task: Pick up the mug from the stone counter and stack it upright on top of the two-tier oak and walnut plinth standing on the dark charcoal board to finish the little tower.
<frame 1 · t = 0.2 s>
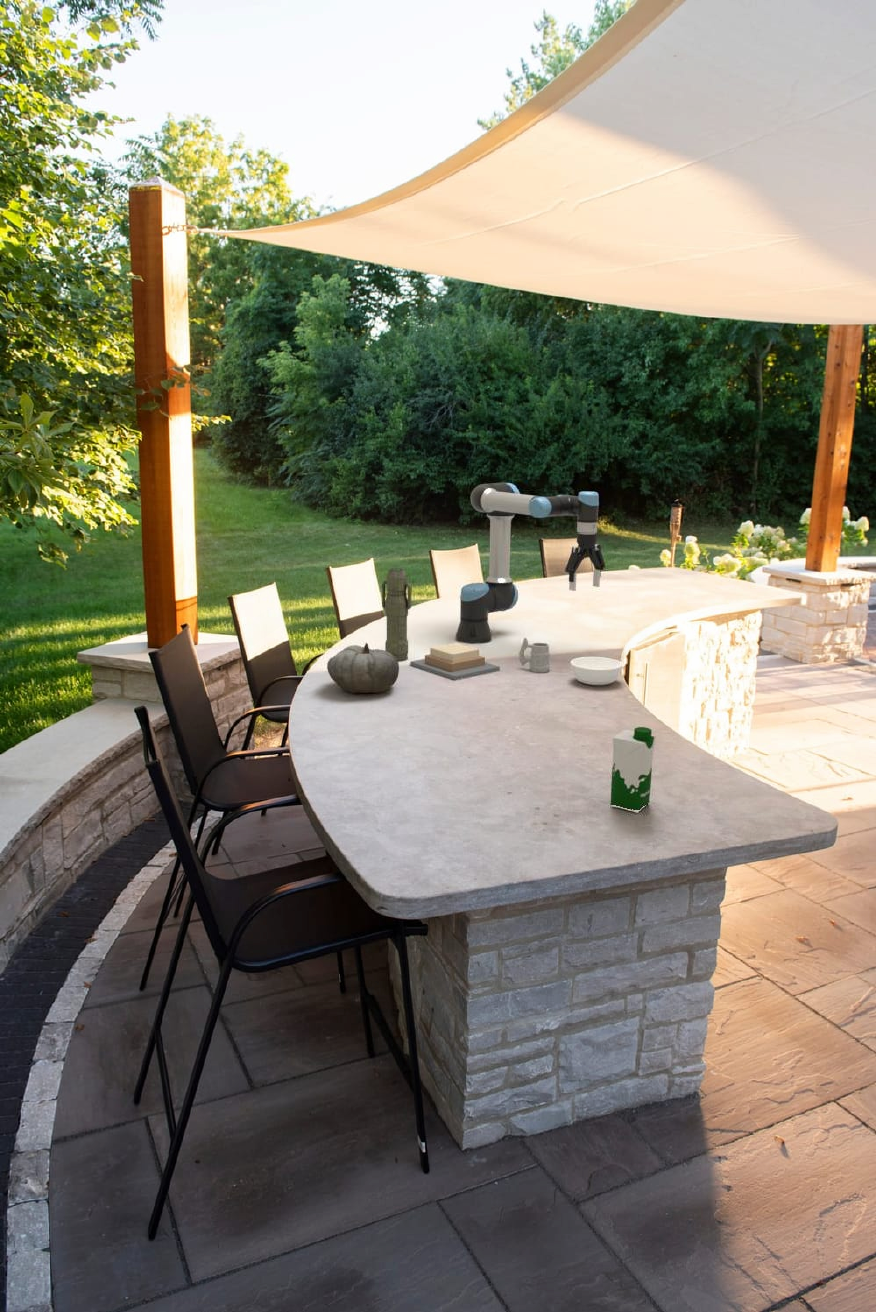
hand: (584, 588, 361), 28 cm above the outdoor bar counter, fingers open, 13 cm apart
gourd: (363, 689, 325), on the outdoor bar counter
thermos: (397, 659, 365), on the outdoor bar counter
milk carton: (629, 806, 230), on the outdoor bar counter
plinth board: (454, 667, 353), on the outdoor bar counter
mug: (534, 670, 351), on the outdoor bar counter
bowl: (595, 683, 336), on the outdoor bar counter
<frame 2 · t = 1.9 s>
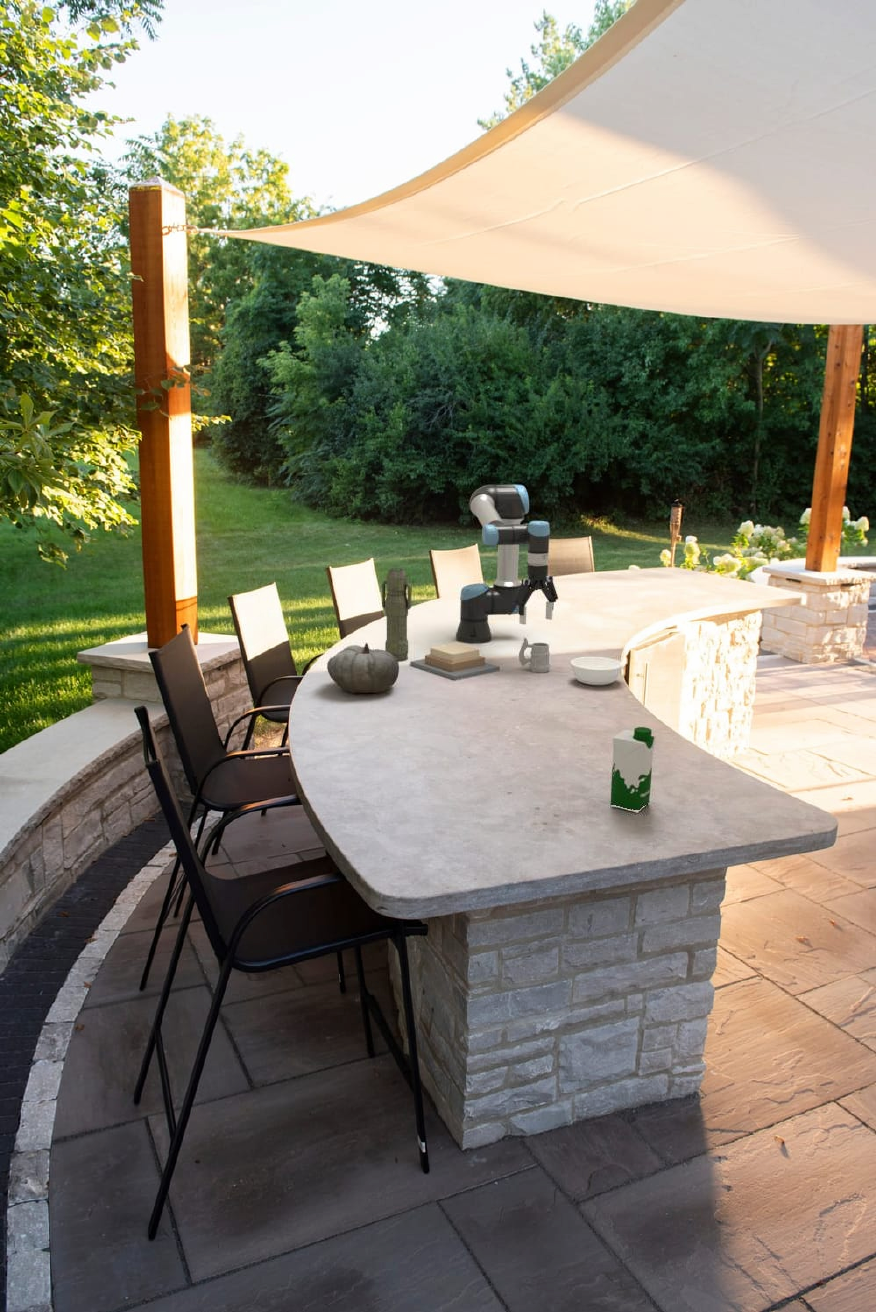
hand: (535, 621, 347), 18 cm above the outdoor bar counter, fingers open, 13 cm apart
nothing on the outdoor bar counter moved.
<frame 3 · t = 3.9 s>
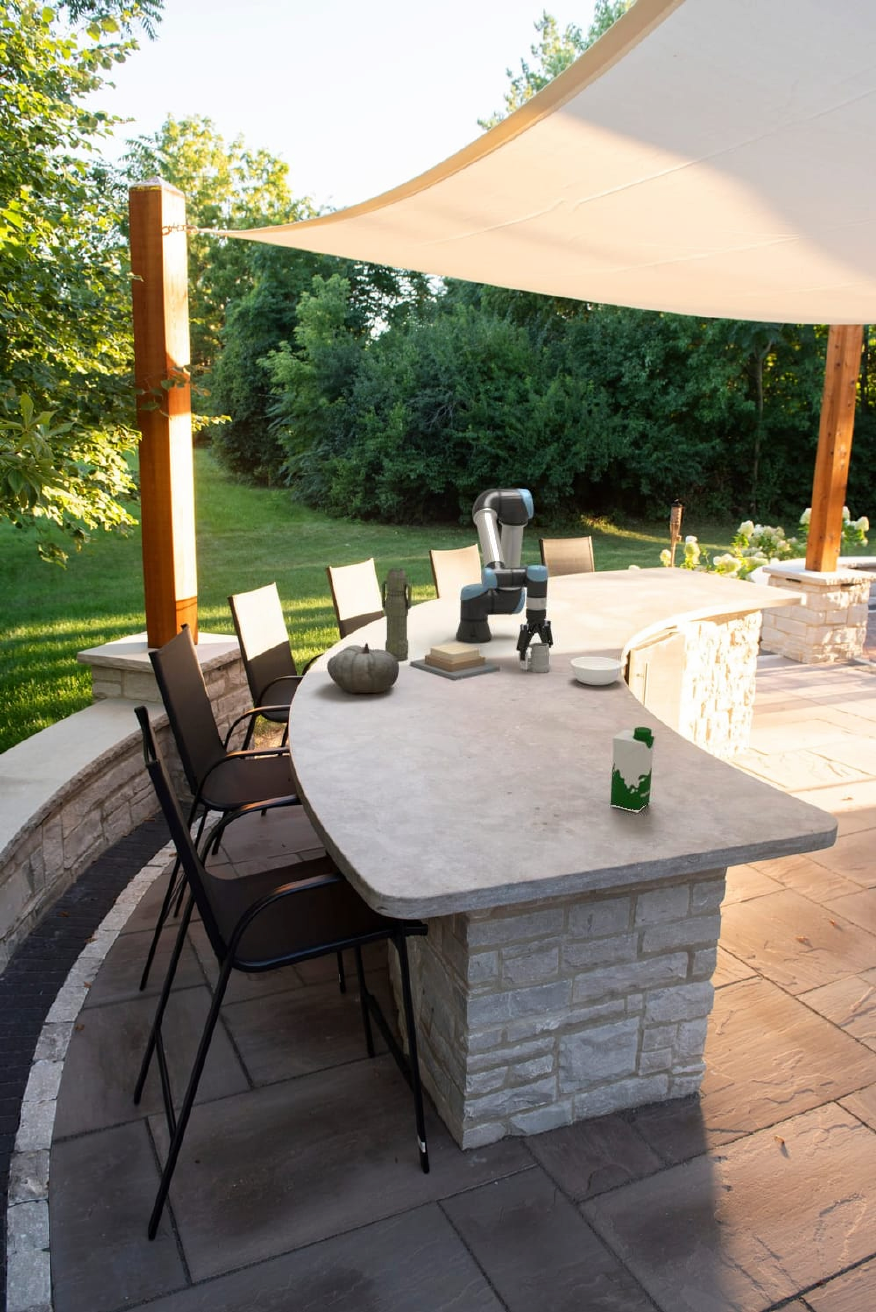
hand: (534, 666, 351), 1 cm above the outdoor bar counter, fingers open, 10 cm apart
mug: (534, 670, 351), on the outdoor bar counter, touching gripper
everything else where it was.
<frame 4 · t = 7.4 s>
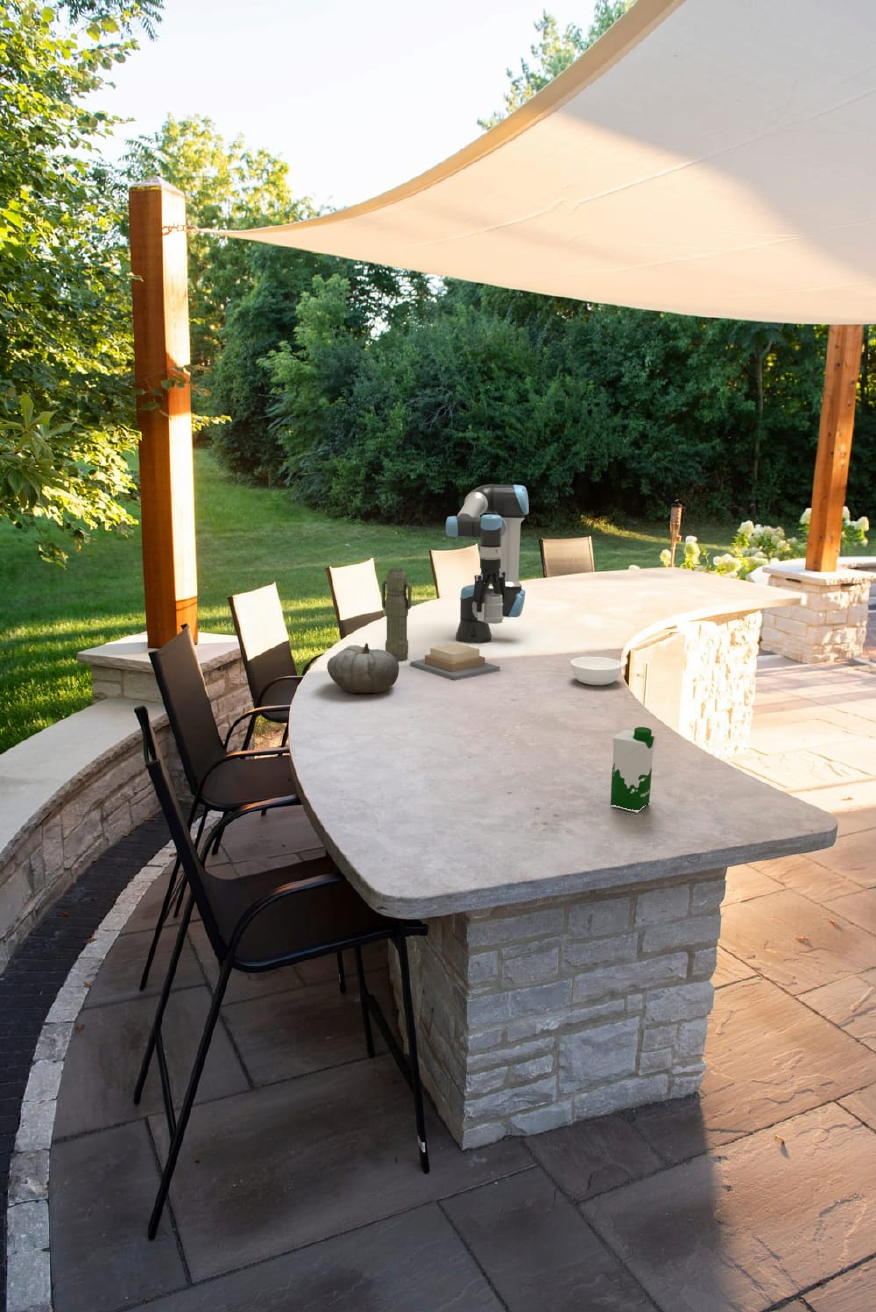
hand: (489, 619, 348), 19 cm above the outdoor bar counter, fingers closed on mug, 8 cm apart
mug: (487, 621, 347), point 18 cm above the outdoor bar counter, touching gripper
everything else where it was.
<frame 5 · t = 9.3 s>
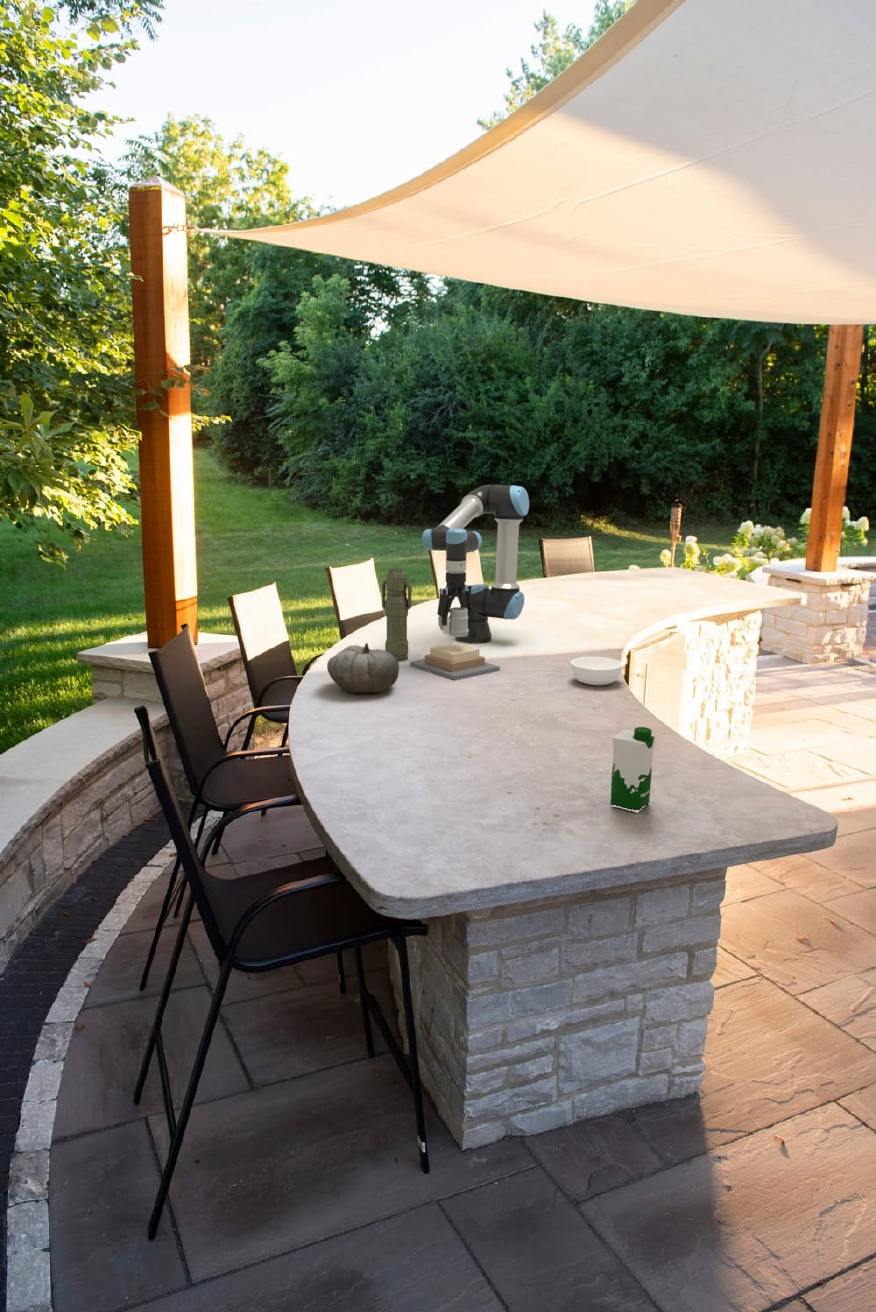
hand: (454, 632, 349), 14 cm above the outdoor bar counter, fingers closed on mug, 8 cm apart
mug: (453, 635, 349), point 13 cm above the outdoor bar counter, touching gripper
everything else where it was.
when the fingers open (10 cm above the outdoor bar counter, at t = 10.8 s): mug drops 1 cm, resting on plinth board.
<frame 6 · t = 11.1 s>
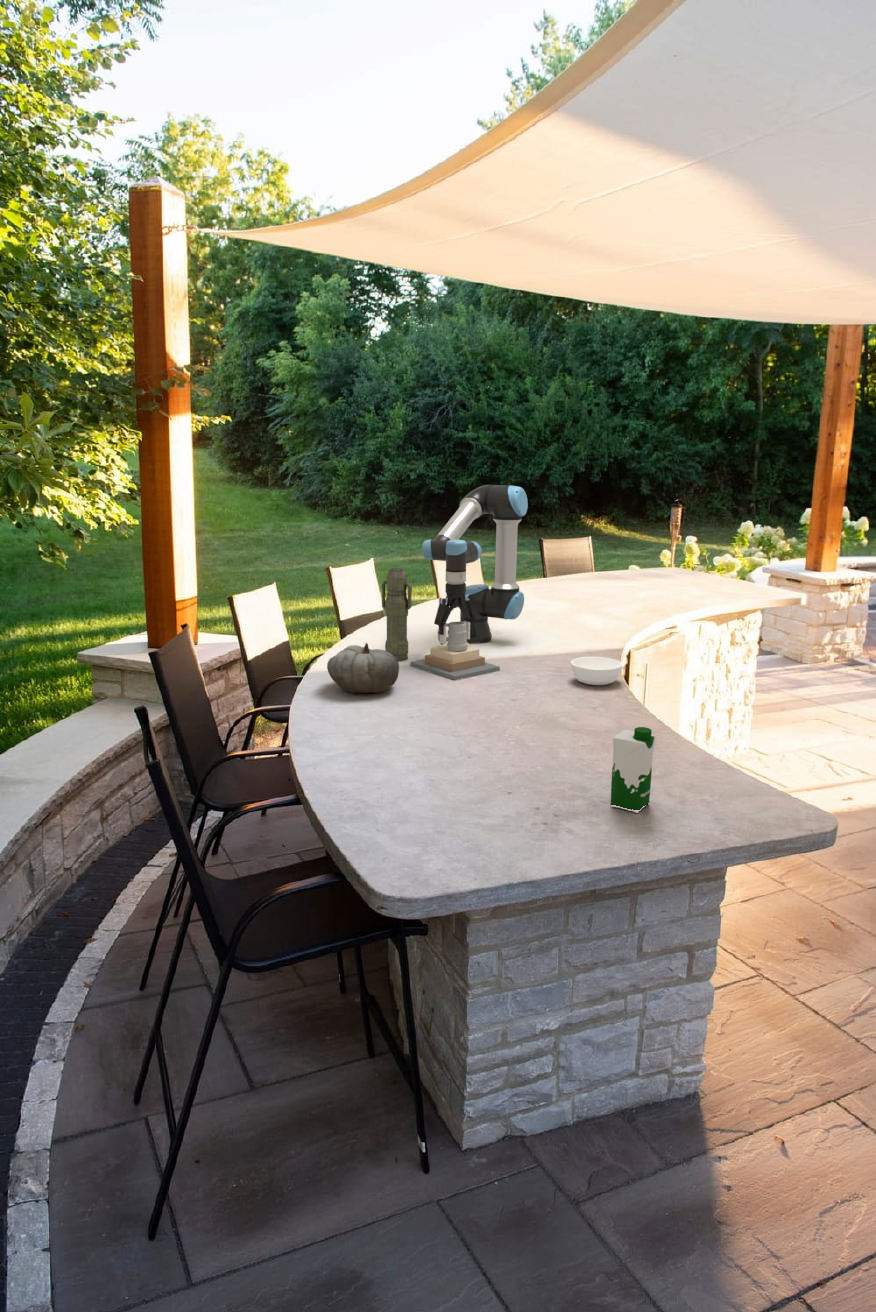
hand: (454, 640, 350), 10 cm above the outdoor bar counter, fingers open, 11 cm apart
mug: (452, 649, 350), point 7 cm above the outdoor bar counter, touching plinth board
everything else where it was.
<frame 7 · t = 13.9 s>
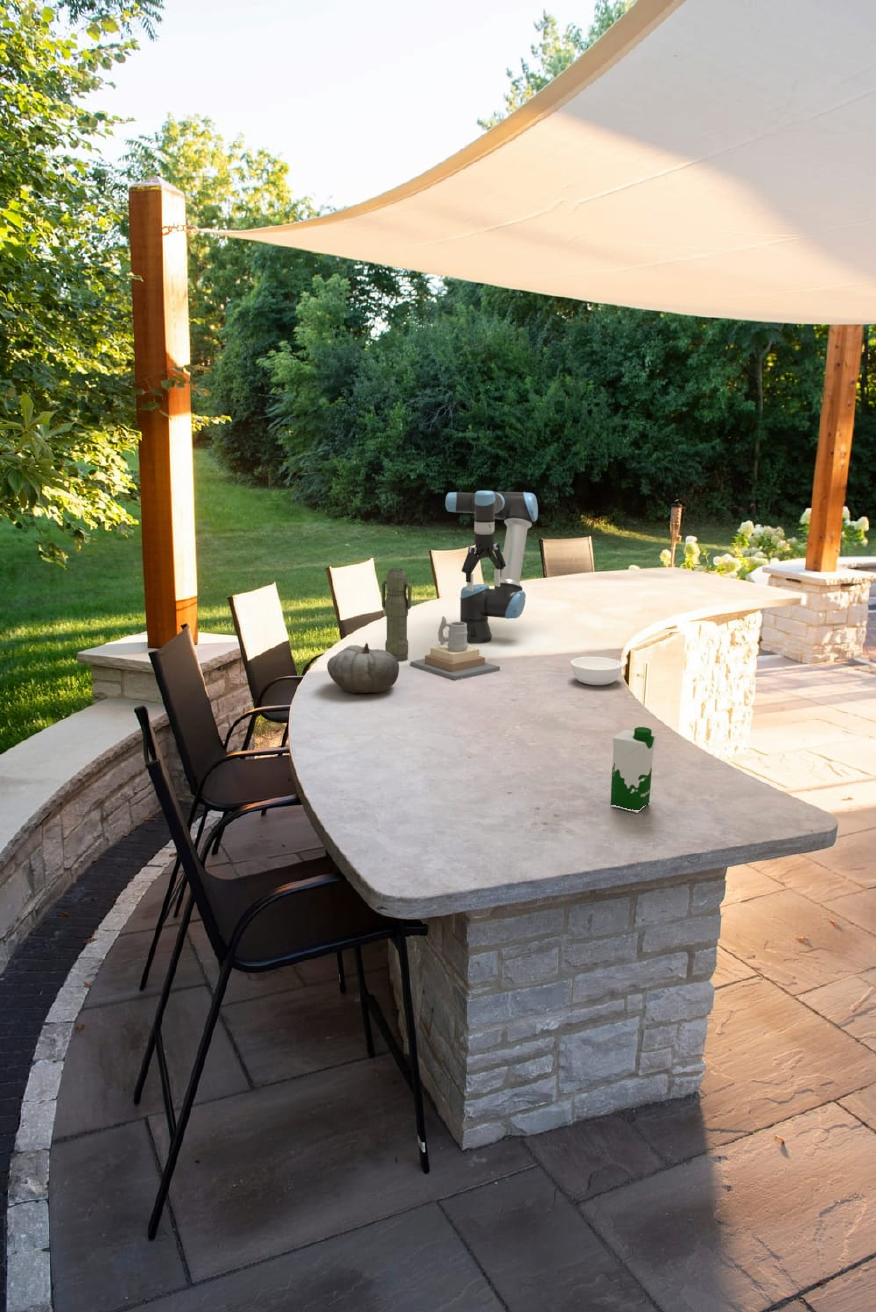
hand: (483, 588, 359), 28 cm above the outdoor bar counter, fingers open, 13 cm apart
nothing on the outdoor bar counter moved.
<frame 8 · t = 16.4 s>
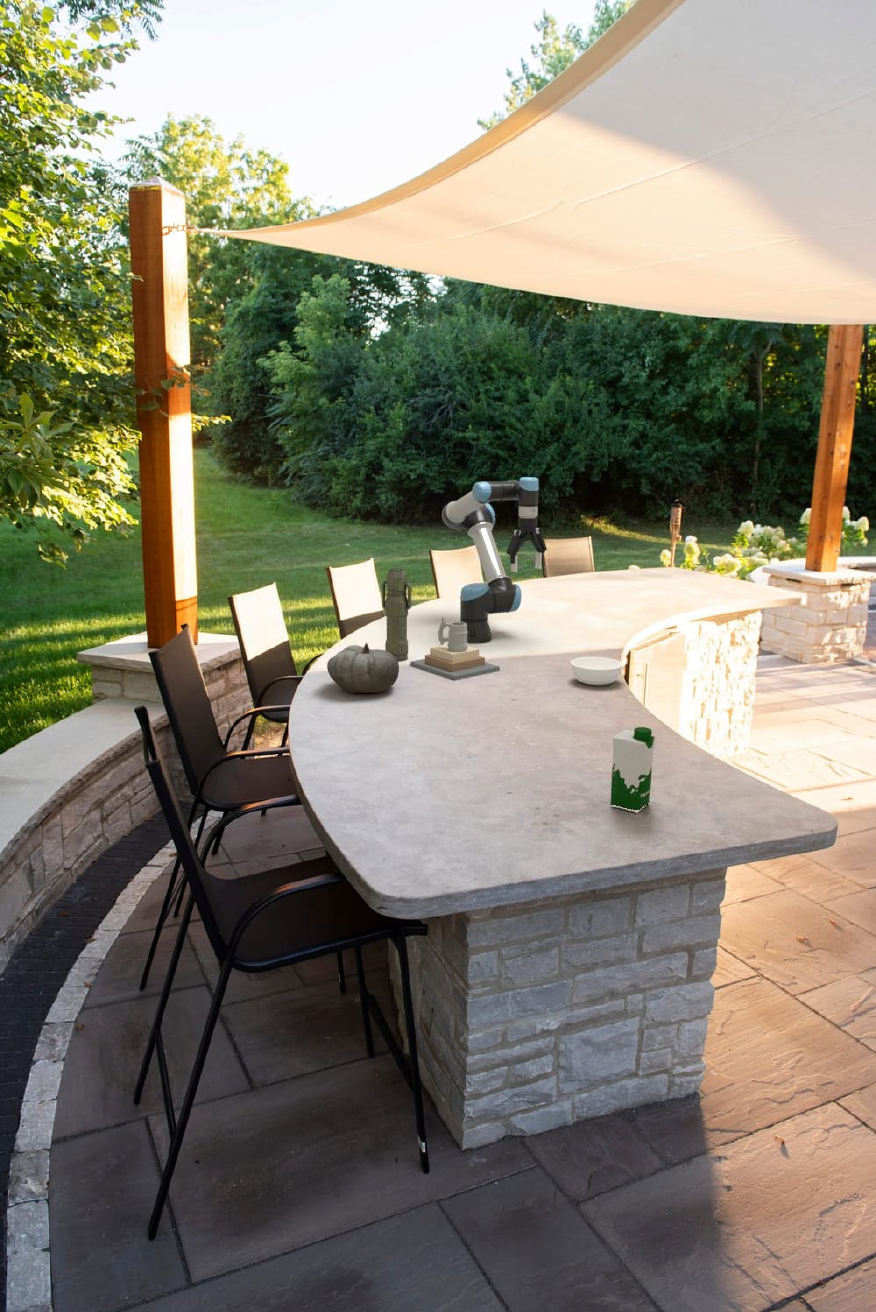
hand: (526, 570, 378), 32 cm above the outdoor bar counter, fingers open, 13 cm apart
nothing on the outdoor bar counter moved.
at the end: mug inside the target area on the plinth board (1.1 cm from its centre), point 7.3 cm above the plinth board's base; mug tilted 0°; the gripper is holding nothing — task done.
